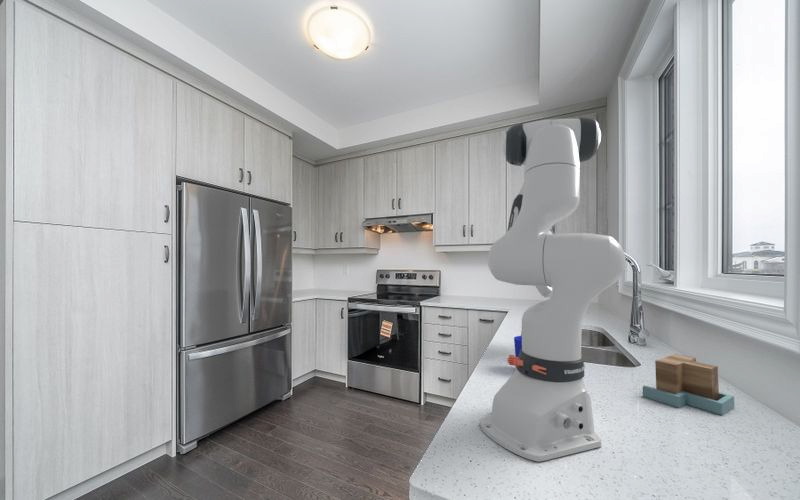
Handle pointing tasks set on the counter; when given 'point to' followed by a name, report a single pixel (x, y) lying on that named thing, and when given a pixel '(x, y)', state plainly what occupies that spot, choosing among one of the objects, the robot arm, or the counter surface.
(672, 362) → the t block
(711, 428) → the counter surface
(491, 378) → the counter surface
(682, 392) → the t pocket
